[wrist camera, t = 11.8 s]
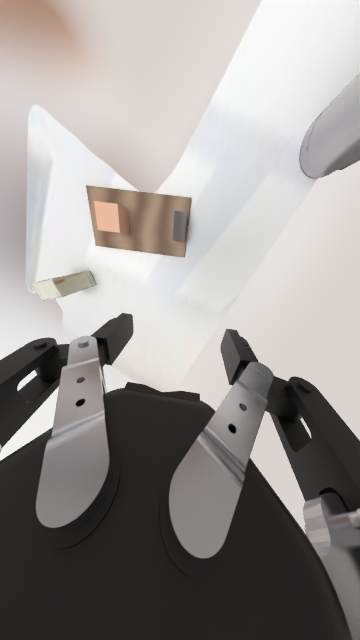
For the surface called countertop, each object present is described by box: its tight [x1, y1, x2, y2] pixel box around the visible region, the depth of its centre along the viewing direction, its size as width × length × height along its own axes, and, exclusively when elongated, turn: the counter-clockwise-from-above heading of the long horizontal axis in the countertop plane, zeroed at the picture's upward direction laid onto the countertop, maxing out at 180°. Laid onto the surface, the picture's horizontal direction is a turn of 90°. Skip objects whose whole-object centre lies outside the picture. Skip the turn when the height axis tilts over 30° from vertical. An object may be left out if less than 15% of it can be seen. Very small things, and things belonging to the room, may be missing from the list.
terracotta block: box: [94, 201, 129, 235], centre depth 31 cm, size 5×5×5 cm
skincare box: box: [32, 271, 96, 300], centre depth 37 cm, size 6×4×12 cm
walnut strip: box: [86, 186, 191, 257], centre depth 31 cm, size 24×12×6 cm, turn 83°
